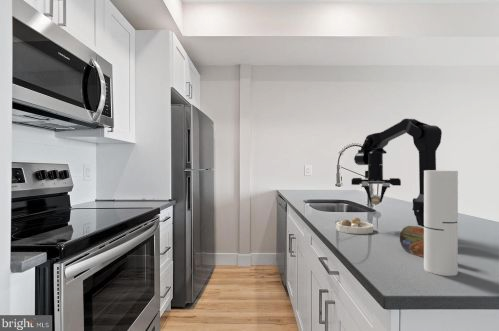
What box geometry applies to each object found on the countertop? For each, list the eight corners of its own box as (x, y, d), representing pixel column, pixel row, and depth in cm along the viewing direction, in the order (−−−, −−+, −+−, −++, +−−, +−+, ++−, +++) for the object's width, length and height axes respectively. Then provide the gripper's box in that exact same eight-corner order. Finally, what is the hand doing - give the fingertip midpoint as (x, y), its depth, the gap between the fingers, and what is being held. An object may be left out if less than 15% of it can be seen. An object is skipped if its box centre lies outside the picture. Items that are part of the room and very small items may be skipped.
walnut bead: (350, 230, 120) (350, 220, 120) (341, 229, 121) (341, 220, 121) (351, 228, 123) (351, 219, 123) (342, 227, 124) (342, 218, 124)
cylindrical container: (463, 276, 72) (463, 171, 72) (430, 274, 73) (430, 170, 73) (449, 266, 79) (449, 170, 79) (419, 265, 80) (419, 170, 80)
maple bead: (382, 205, 126) (381, 196, 126) (373, 205, 125) (373, 196, 125) (377, 204, 129) (377, 195, 129) (369, 204, 129) (369, 195, 129)
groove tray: (372, 235, 114) (372, 228, 114) (334, 231, 120) (334, 225, 120) (373, 228, 127) (373, 222, 127) (339, 225, 133) (338, 219, 133)
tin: (399, 250, 94) (399, 223, 94) (406, 249, 95) (406, 222, 95) (448, 265, 80) (448, 233, 80) (455, 263, 82) (455, 232, 82)
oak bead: (361, 227, 127) (363, 218, 127) (357, 227, 125) (359, 219, 124) (353, 224, 130) (354, 216, 129) (349, 225, 127) (351, 216, 127)
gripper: (398, 164, 131) (399, 201, 131) (353, 165, 138) (353, 199, 138) (400, 164, 121) (401, 204, 121) (351, 165, 128) (351, 202, 128)
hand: (375, 202), depth 127 cm, fingers closed on maple bead, 4 cm apart
